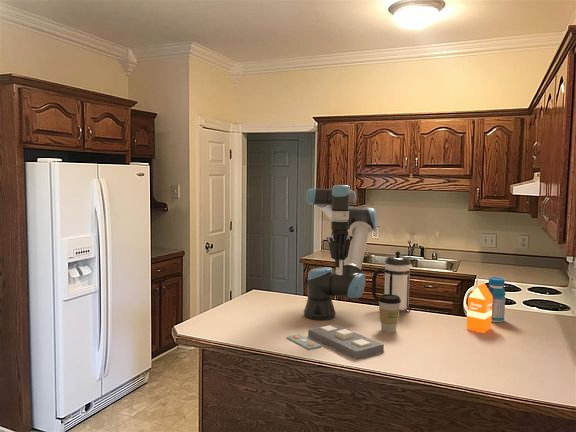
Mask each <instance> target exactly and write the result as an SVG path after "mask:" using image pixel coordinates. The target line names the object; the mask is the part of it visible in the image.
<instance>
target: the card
mask: <svg viewBox="0 0 576 432" xmlns="http://www.w3.org/2000/svg"><path fill="white" fill-rule="evenodd" d="M285 338H286V339H287V340H289V341H291V342H293V343H295V344H297V345H298V346H301V347H303V348H305V349H307V350H309V351H311V350H315V349H319V348H322V345H321V344H320V343H318V342H316V341H313V340H311V339H309V338H307V337H305V336H302V335H300V334H293V335H289V336H286V337H285Z"/></svg>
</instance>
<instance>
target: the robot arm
mask: <svg viewBox="0 0 576 432" xmlns="http://www.w3.org/2000/svg"><path fill="white" fill-rule="evenodd" d="M305 193H306V194H305V201H306V204H308V205H312V206H314V205H315V206H316V207H318V209H320V211H322V212H323V213H324V214H325V215H326V217H327V219H328V221H329V222H330V223H331V224H330V225H331V228H330V229H331V233H330V236H329V237H326V241H327V242H328V246H329V252H330V258H331V259H332V260H334V267H335V270H333V268H332V267H330V266H328V267H327V266H325V267H316V268H312V269H310V270H308V273H307V274H308V275H307V301H306V304H305V307H304V310H303V316H304V317H305V318H306V319H309V320H313V321H329V320H332V319H335V317H336V311H335V306H334V303H333V297H340V298H349V299H359V298H360V297H361V296H362V295H363V294H364V290H365V288H366V279H367V278H366V275H365V274H364V271H363V269H362V266H363V263H364V256H365V252H366V248H367V245H368V244H367V243H368V238H369V236H370V235H372V234H373V231H377V228H378V227H377V226H378V221H377V212H376V209H375V208H373V207H357V206H356V207H355V206H353V207H352V206H351V205H353V204H354V203H355V202H356V199H357V195H356V192H355V191H354V190H352V189H351V188H350V185H347V184H337V185H336V184H334V185H333V186H332V188H314V187H313V188H309V189H307V190H306V192H305ZM350 206H351V207H350ZM349 230H350V234H349Z"/></svg>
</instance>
